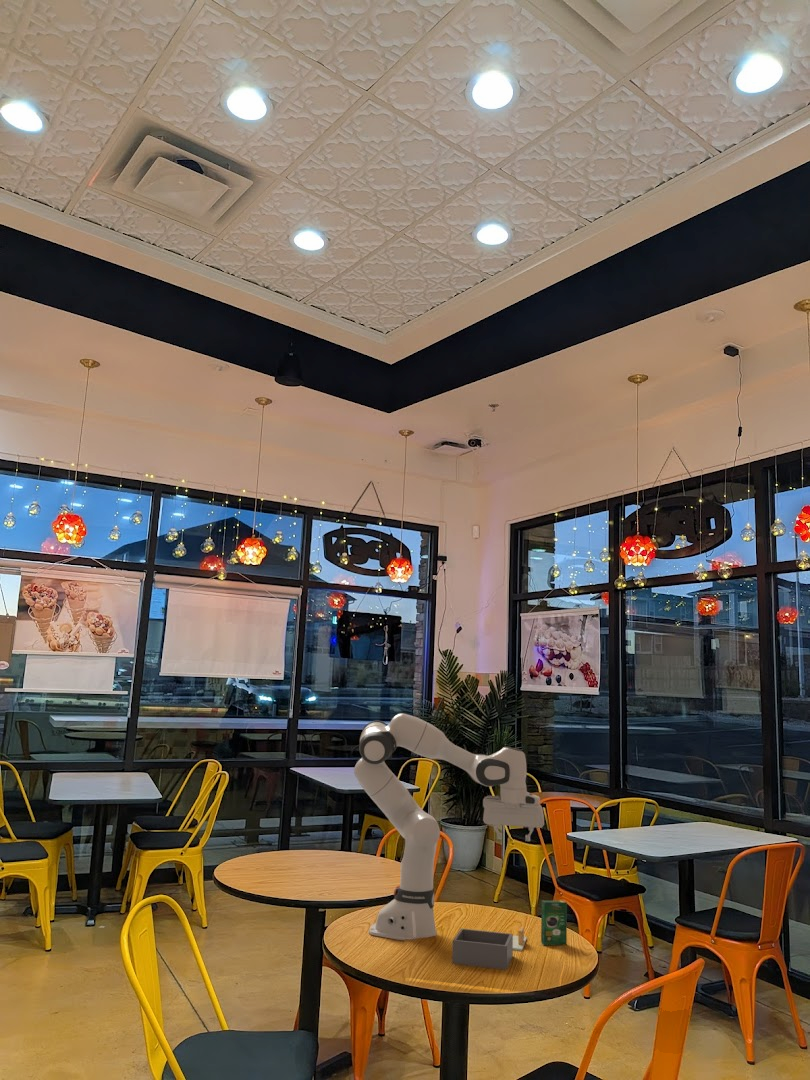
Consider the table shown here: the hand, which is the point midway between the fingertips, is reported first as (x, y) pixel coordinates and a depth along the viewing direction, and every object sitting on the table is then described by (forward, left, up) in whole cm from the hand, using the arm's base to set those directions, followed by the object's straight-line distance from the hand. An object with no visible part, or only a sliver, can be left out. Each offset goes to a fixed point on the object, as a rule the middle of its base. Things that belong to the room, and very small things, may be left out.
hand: (513, 840), depth 258 cm
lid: (-4, -6, -31) cm, 32 cm away
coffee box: (+13, +1, -31) cm, 34 cm away
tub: (-6, -25, -31) cm, 40 cm away
